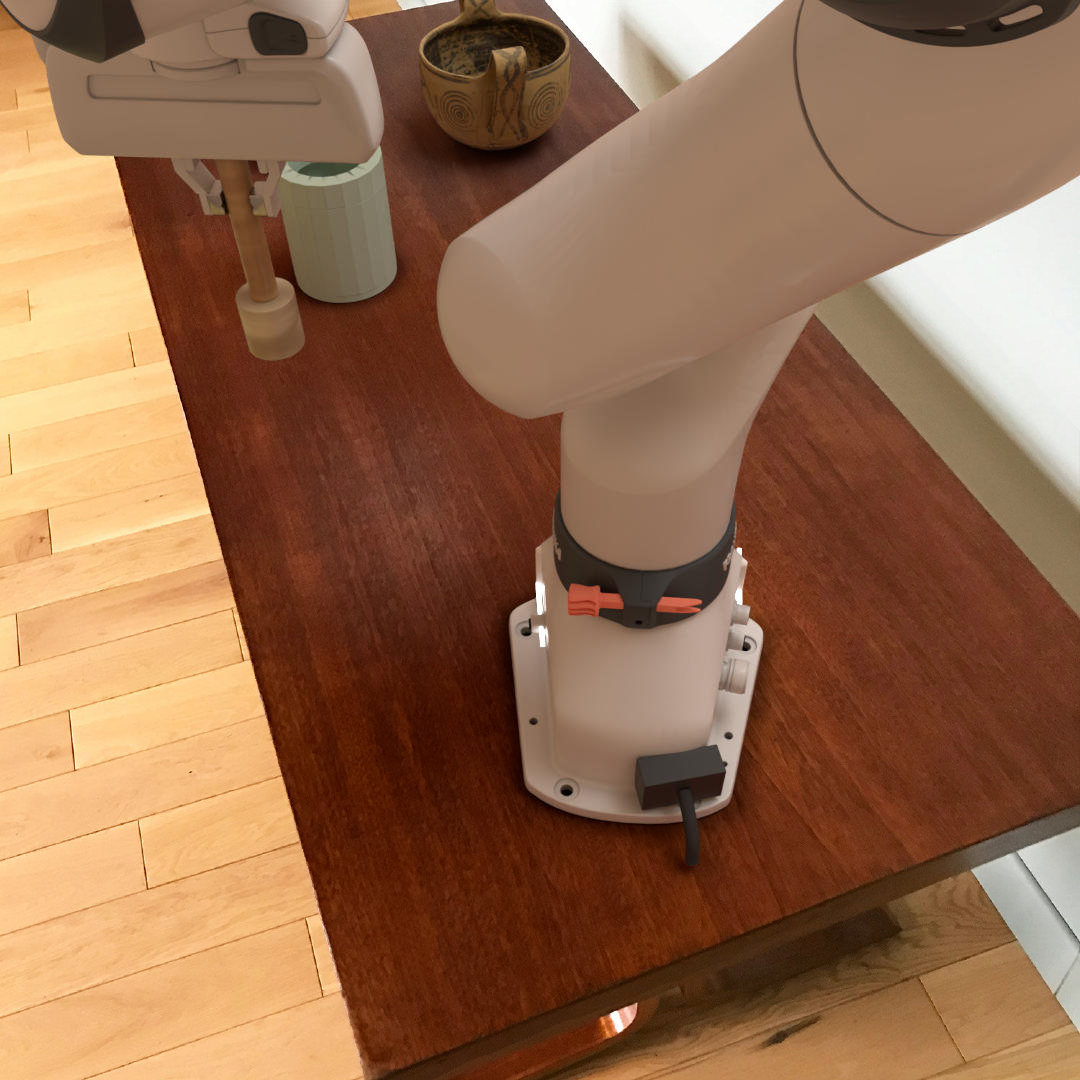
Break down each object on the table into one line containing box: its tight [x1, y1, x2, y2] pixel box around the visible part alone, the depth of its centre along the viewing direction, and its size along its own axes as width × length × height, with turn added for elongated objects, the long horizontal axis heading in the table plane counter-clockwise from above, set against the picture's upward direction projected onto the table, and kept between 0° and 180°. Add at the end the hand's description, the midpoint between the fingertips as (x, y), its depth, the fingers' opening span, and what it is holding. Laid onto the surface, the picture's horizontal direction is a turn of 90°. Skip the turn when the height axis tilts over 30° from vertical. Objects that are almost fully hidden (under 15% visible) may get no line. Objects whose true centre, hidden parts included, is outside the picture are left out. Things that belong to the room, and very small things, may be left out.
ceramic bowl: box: [418, 0, 572, 151], centre depth 125 cm, size 22×17×15 cm
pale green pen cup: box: [277, 144, 398, 304], centre depth 109 cm, size 10×10×13 cm
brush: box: [214, 159, 306, 362], centre depth 77 cm, size 4×4×17 cm
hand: (244, 211), depth 75 cm, fingers closed on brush, 2 cm apart
